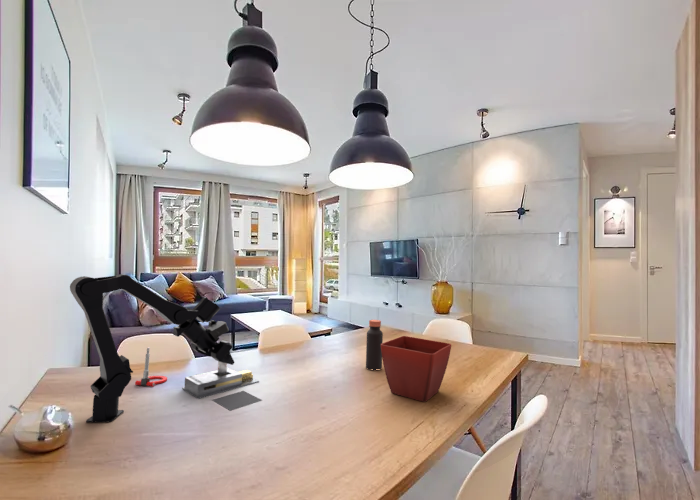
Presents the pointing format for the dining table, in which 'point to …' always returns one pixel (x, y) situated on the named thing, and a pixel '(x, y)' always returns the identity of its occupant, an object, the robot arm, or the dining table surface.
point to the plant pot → (415, 366)
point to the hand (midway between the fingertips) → (226, 360)
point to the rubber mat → (236, 400)
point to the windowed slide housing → (217, 382)
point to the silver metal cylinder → (222, 369)
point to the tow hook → (146, 380)
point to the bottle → (374, 345)
